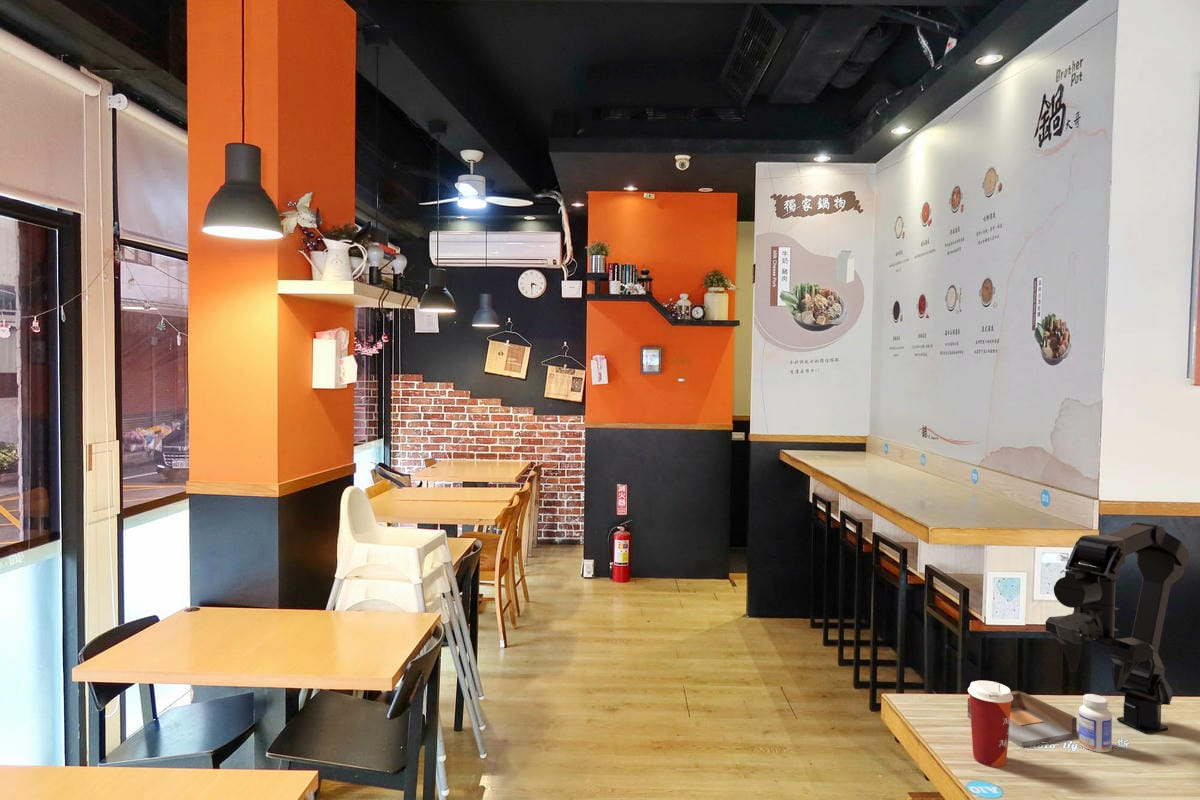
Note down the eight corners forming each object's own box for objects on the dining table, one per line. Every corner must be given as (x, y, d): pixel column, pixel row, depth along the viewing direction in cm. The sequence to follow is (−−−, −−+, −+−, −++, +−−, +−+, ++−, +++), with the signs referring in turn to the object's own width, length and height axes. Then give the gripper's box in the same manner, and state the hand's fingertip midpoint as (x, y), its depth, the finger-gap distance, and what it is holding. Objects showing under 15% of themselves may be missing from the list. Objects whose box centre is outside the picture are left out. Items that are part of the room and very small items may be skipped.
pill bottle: (1106, 742, 148) (1106, 694, 148) (1115, 755, 143) (1116, 705, 143) (1074, 738, 150) (1075, 690, 150) (1083, 751, 145) (1084, 701, 145)
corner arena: (1019, 708, 164) (1019, 690, 164) (1076, 737, 150) (1076, 717, 150) (967, 716, 160) (967, 698, 160) (1021, 747, 146) (1022, 727, 146)
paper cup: (1018, 772, 137) (1019, 697, 137) (973, 767, 138) (974, 693, 138) (1004, 751, 145) (1005, 680, 144) (961, 747, 146) (962, 677, 146)
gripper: (1025, 591, 153) (1023, 666, 153) (1111, 617, 135) (1108, 703, 135) (1067, 588, 156) (1064, 662, 156) (1156, 614, 138) (1154, 697, 138)
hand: (1094, 680), depth 146 cm, fingers open, 9 cm apart
